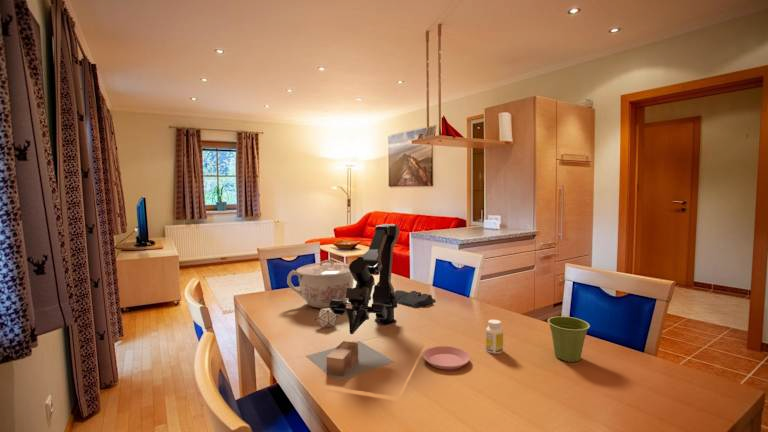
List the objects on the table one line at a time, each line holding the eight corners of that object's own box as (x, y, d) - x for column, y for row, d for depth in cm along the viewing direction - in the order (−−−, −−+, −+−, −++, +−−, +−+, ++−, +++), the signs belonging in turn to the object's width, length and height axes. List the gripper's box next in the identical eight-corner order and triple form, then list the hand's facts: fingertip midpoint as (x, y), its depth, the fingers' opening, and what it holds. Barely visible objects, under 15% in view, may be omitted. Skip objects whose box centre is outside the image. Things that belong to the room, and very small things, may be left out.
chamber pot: (368, 301, 183) (368, 258, 181) (330, 318, 160) (329, 268, 158) (323, 293, 198) (322, 253, 196) (283, 307, 175) (281, 262, 173)
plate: (440, 377, 110) (440, 370, 110) (414, 357, 122) (414, 351, 122) (479, 366, 116) (479, 359, 116) (450, 348, 129) (450, 342, 129)
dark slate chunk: (403, 294, 197) (403, 284, 196) (438, 302, 181) (438, 292, 181) (382, 300, 186) (382, 290, 185) (418, 310, 170) (418, 299, 170)
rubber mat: (359, 343, 134) (359, 340, 134) (394, 364, 118) (394, 361, 118) (305, 358, 122) (305, 356, 122) (336, 384, 106) (336, 381, 106)
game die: (330, 338, 148) (332, 323, 141) (310, 329, 149) (312, 314, 143) (340, 320, 154) (343, 305, 148) (321, 312, 156) (323, 296, 149)
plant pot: (538, 353, 124) (539, 319, 123) (565, 347, 129) (566, 314, 128) (569, 369, 113) (570, 331, 113) (597, 361, 118) (598, 325, 117)
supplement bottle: (503, 348, 128) (503, 319, 128) (502, 355, 123) (503, 325, 123) (486, 346, 130) (486, 318, 129) (485, 353, 125) (485, 323, 124)
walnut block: (343, 340, 121) (326, 357, 110) (358, 342, 120) (342, 359, 108) (343, 356, 122) (326, 374, 110) (358, 358, 120) (342, 376, 109)
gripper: (330, 275, 127) (315, 318, 118) (384, 278, 122) (373, 324, 112) (340, 292, 135) (327, 334, 126) (391, 296, 130) (381, 341, 120)
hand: (351, 333), depth 121 cm, fingers closed
